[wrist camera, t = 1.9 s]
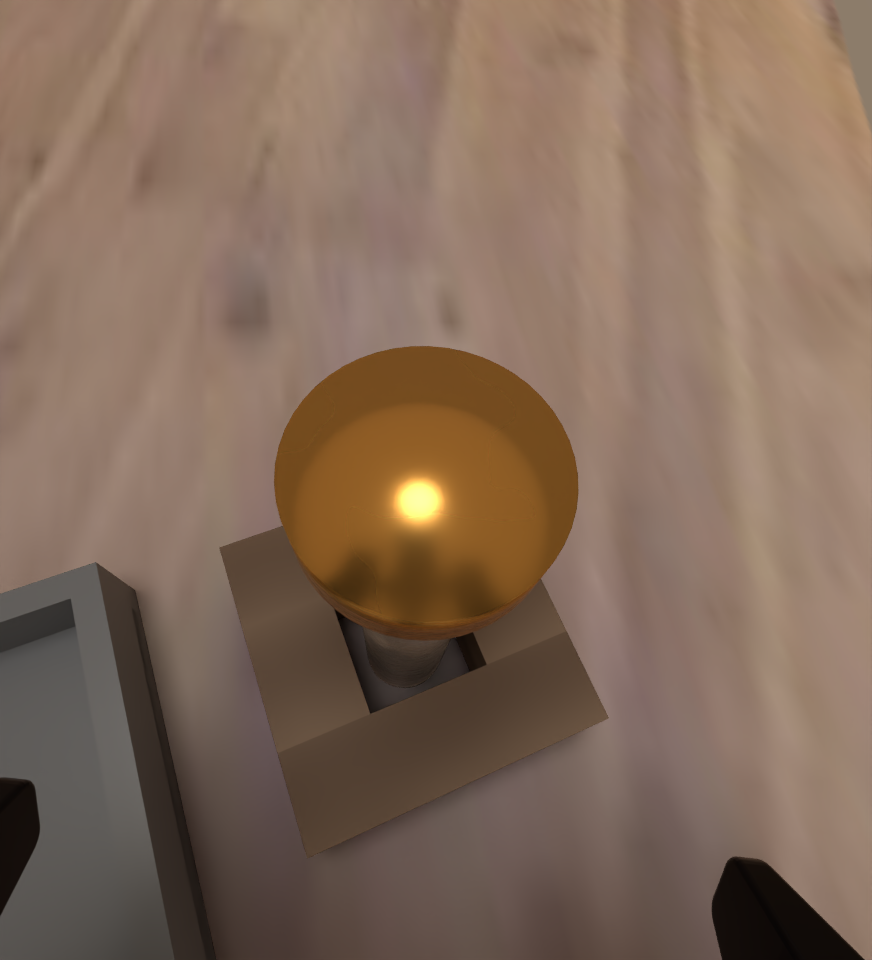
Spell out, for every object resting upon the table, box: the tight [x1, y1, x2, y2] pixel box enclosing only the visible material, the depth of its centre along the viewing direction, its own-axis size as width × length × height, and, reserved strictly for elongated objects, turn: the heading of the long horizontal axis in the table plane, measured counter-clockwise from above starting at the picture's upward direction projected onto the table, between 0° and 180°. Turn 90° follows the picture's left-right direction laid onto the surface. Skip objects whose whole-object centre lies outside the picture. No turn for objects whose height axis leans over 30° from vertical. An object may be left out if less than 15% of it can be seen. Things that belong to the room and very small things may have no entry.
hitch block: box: [220, 526, 609, 858], centre depth 19 cm, size 8×8×3 cm
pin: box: [274, 346, 578, 688], centre depth 14 cm, size 4×4×13 cm
